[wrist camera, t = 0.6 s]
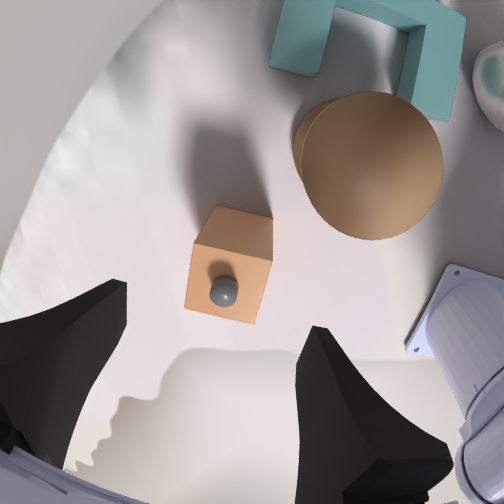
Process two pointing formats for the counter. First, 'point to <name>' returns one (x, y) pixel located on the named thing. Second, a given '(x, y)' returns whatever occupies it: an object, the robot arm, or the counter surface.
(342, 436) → the robot arm
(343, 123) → the bobbin
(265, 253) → the plug
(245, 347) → the counter surface
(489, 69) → the plastic bottle
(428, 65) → the notch board
